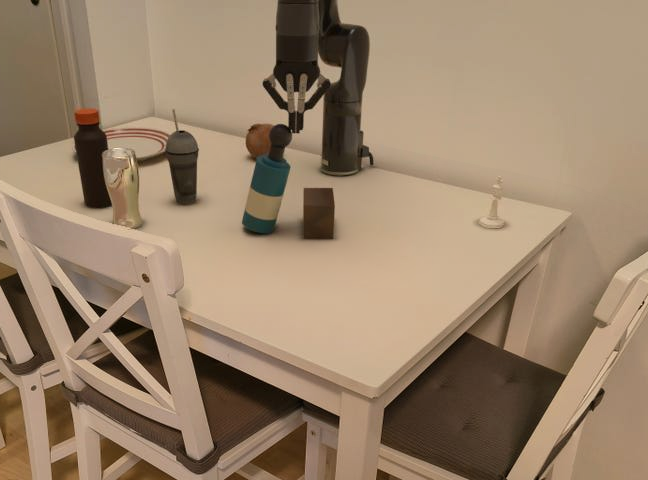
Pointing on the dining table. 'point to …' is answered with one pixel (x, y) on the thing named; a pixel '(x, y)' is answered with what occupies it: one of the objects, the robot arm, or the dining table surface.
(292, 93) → the robot arm
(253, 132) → the onion
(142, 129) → the dinner plate
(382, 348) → the dining table surface
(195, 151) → the beverage cup
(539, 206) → the dining table surface
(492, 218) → the chess piece
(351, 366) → the dining table surface
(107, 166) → the beer glass
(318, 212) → the walnut block
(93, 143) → the vinegar
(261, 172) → the striped banded cylinder
